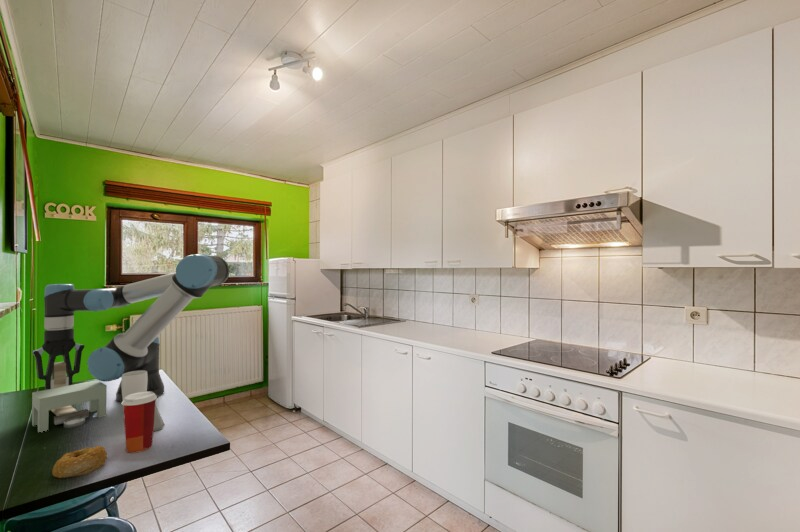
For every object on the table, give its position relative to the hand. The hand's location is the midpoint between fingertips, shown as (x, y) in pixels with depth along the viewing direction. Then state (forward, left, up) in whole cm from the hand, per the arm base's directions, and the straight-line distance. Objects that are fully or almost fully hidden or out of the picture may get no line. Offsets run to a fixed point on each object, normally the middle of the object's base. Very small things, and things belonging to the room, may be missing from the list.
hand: (58, 396), depth 126 cm
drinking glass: (-26, +22, -5) cm, 35 cm away
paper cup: (-32, +45, -5) cm, 55 cm away
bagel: (-22, +51, -5) cm, 56 cm away
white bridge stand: (-7, +13, -5) cm, 16 cm away
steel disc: (-10, +18, -5) cm, 21 cm away
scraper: (-4, +7, -4) cm, 9 cm away
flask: (-32, +32, -5) cm, 46 cm away
